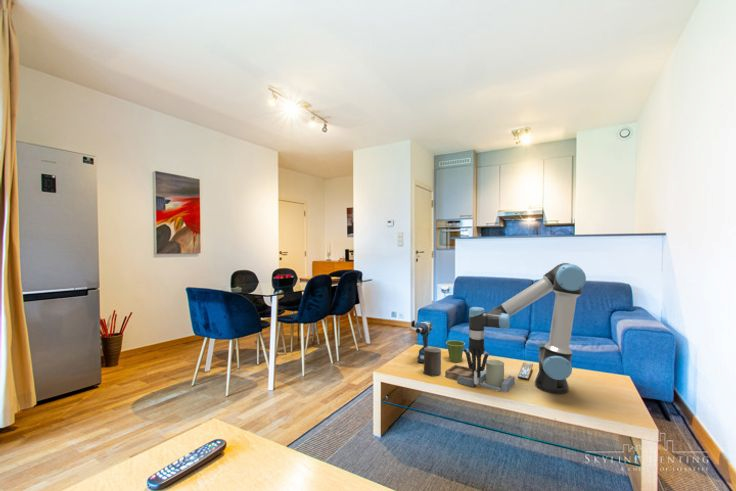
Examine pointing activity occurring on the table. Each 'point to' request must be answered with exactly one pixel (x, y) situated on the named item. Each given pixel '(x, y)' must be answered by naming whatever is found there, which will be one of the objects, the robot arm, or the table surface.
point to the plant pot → (455, 350)
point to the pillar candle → (432, 361)
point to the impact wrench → (424, 337)
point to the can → (494, 372)
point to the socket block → (505, 386)
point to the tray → (458, 372)
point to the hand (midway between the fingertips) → (476, 383)
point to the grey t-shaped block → (466, 381)
